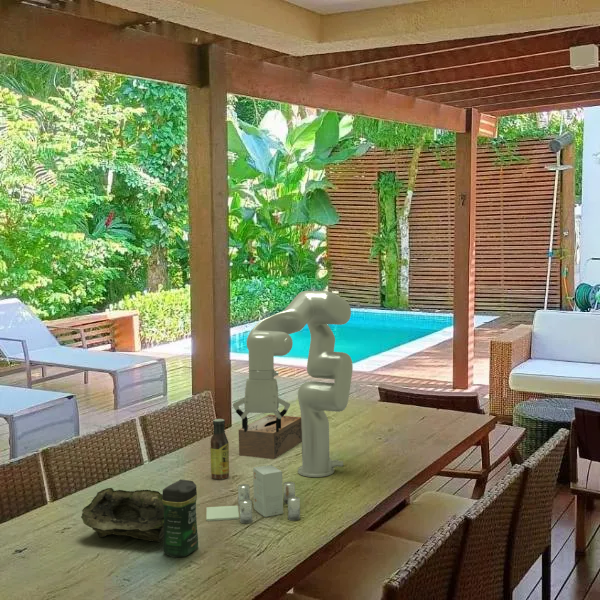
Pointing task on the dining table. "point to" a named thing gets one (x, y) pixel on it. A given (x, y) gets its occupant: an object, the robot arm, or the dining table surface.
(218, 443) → the sauce bottle
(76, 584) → the dining table surface
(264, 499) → the small box
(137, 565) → the dining table surface
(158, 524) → the hollow geode rock
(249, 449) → the tissue box cover
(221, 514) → the sage mat
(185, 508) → the coffee jar
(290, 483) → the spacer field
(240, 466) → the dining table surface
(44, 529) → the dining table surface
